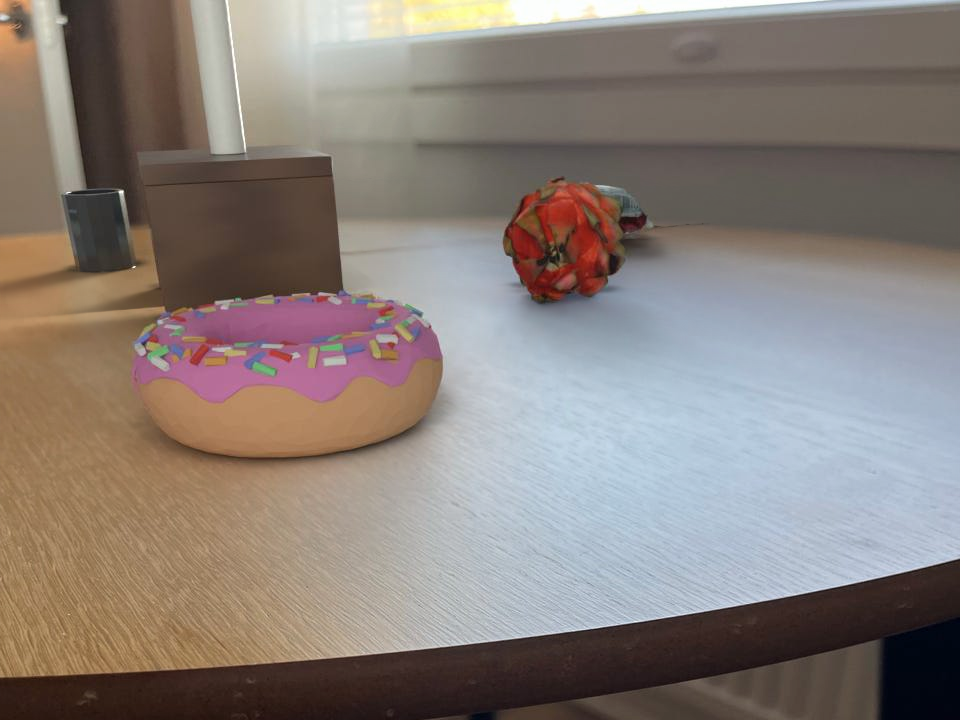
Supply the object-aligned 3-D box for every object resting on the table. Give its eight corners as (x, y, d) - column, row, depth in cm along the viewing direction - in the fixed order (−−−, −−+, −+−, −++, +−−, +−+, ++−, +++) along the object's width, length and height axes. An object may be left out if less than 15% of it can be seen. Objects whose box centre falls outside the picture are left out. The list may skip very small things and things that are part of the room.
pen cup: (76, 279, 86) (59, 196, 83) (78, 270, 91) (62, 190, 87) (138, 275, 88) (123, 192, 85) (137, 266, 92) (123, 187, 89)
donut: (429, 374, 57) (425, 279, 54) (462, 458, 44) (458, 340, 42) (164, 390, 55) (147, 293, 53) (120, 482, 43) (96, 361, 40)
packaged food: (524, 235, 102) (524, 181, 100) (643, 232, 102) (646, 178, 99) (524, 250, 95) (524, 192, 92) (653, 247, 94) (656, 189, 92)
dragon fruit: (587, 300, 81) (561, 360, 72) (499, 234, 79) (462, 286, 70) (654, 209, 76) (636, 261, 67) (562, 136, 74) (530, 179, 65)
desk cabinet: (168, 329, 68) (140, 165, 64) (160, 292, 80) (136, 152, 75) (345, 313, 71) (331, 155, 67) (312, 280, 83) (299, 144, 78)
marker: (211, 155, 70) (175, -97, 63) (208, 153, 72) (173, -91, 65) (249, 153, 70) (219, -96, 63) (245, 151, 72) (215, -90, 66)
